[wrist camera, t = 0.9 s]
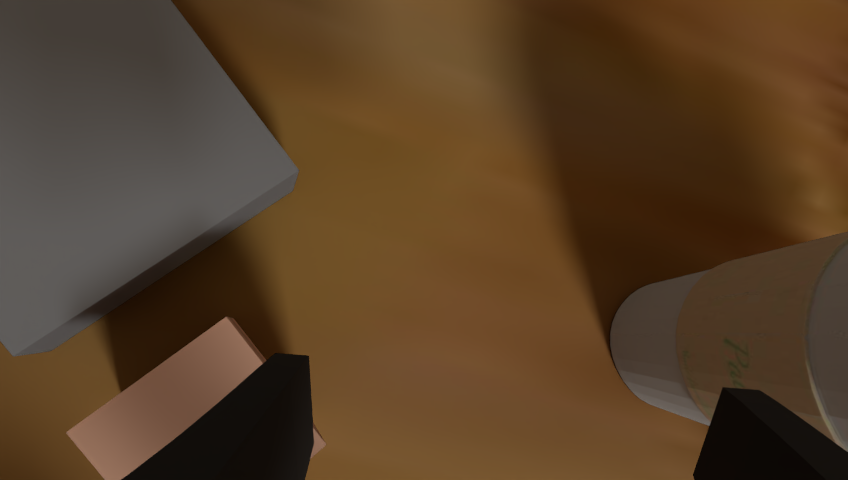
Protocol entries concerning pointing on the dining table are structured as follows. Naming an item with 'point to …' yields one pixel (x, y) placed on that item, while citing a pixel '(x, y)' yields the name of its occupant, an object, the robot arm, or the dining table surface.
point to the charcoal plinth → (114, 159)
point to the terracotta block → (169, 401)
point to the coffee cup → (744, 335)
